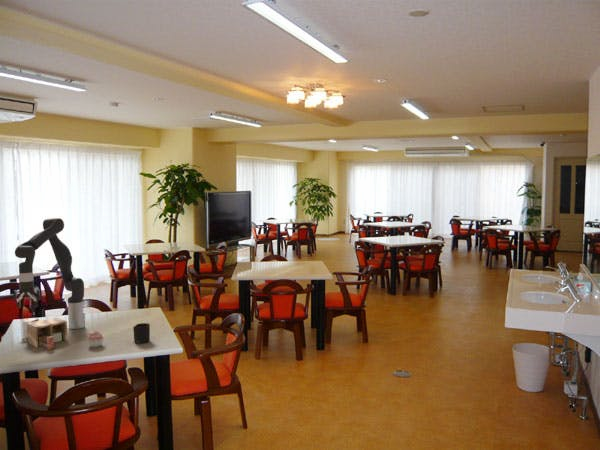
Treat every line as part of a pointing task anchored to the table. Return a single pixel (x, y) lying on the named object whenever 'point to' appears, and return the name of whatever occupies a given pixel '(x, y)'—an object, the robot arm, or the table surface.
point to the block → (57, 336)
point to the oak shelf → (46, 329)
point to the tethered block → (46, 341)
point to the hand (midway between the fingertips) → (27, 307)
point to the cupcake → (95, 339)
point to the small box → (26, 326)
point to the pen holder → (141, 333)
